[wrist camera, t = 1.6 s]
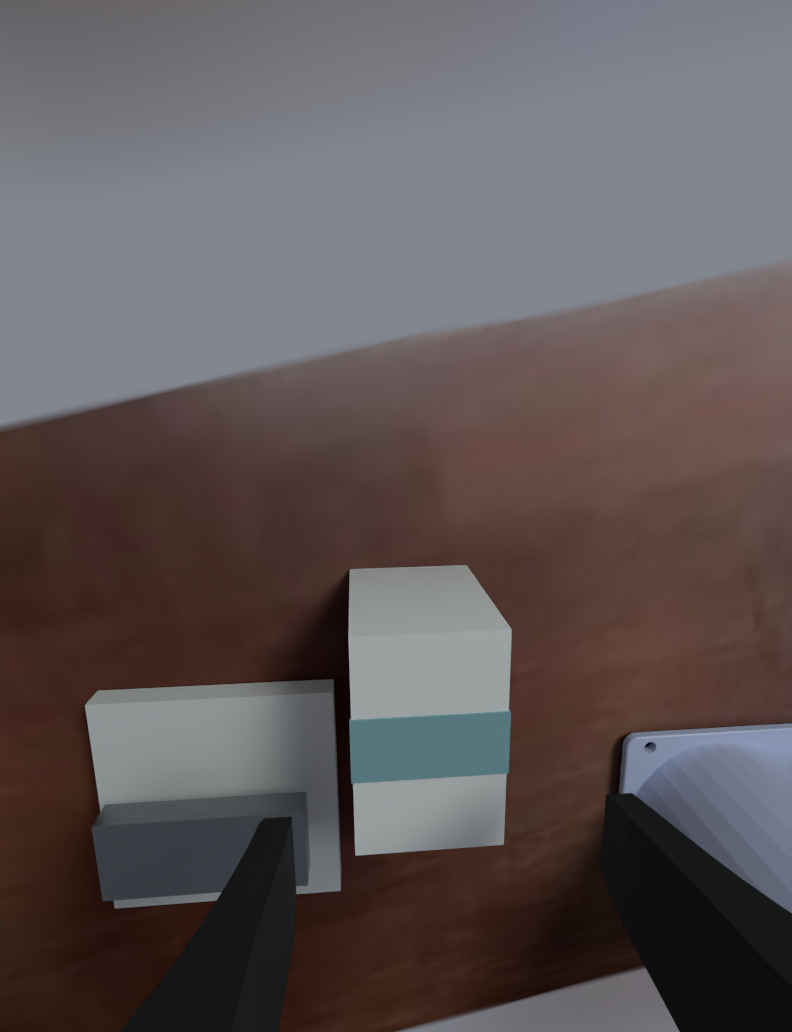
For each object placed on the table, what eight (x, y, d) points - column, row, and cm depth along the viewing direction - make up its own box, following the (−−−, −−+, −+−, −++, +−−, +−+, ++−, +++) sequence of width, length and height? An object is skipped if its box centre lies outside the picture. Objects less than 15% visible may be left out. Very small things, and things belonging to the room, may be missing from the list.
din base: (334, 679, 21) (333, 692, 20) (341, 869, 23) (340, 890, 22) (97, 690, 20) (84, 705, 20) (125, 886, 22) (114, 908, 21)
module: (468, 565, 21) (514, 630, 15) (464, 727, 22) (505, 845, 16) (348, 569, 20) (346, 637, 14) (353, 733, 22) (353, 857, 16)
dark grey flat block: (306, 791, 19) (303, 812, 18) (310, 861, 20) (308, 885, 19) (105, 804, 19) (91, 826, 18) (115, 876, 19) (102, 901, 18)
